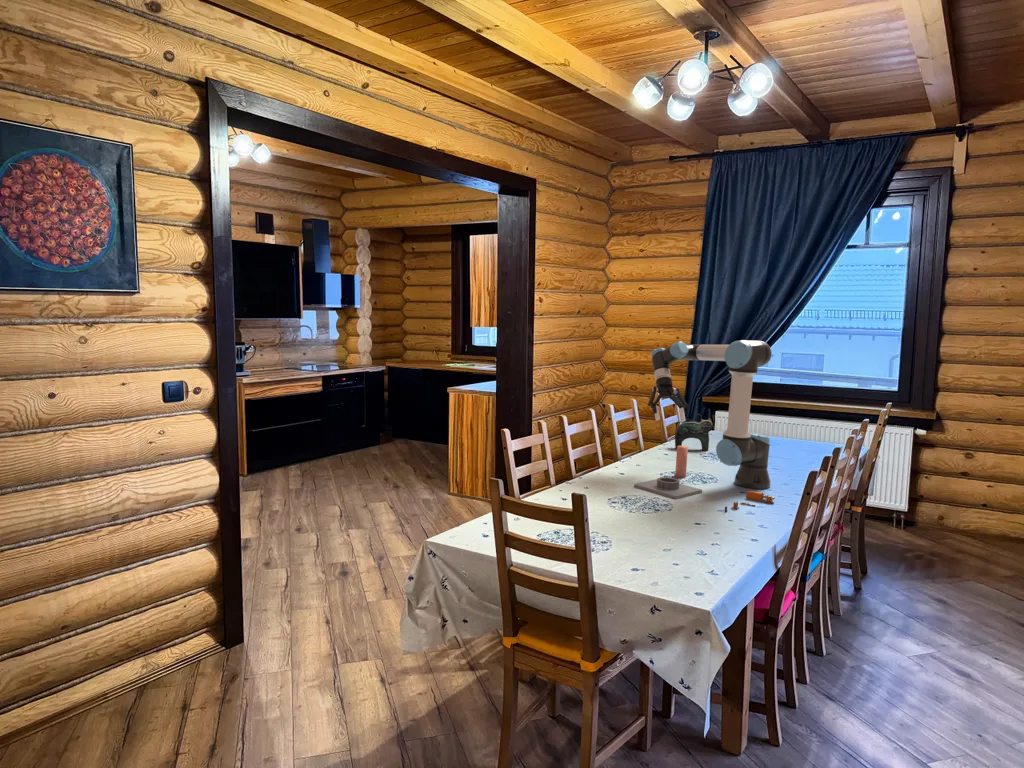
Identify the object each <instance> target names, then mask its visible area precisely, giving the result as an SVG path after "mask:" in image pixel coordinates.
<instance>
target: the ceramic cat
mask: <svg viewBox="0 0 1024 768" xmlns="http://www.w3.org/2000/svg"><path fill="white" fill-rule="evenodd" d="M698 415H699V416H700V417H701V418H700V420H699V421H694V420H692V419H689V418H687V419H686V418H685V420H686V421H684V422H683V423H682V422H681V420H680V421H679V423H678V425H677V427H676V430H675V432H674V447H675V449H676V450H677V446H683V445H682V444H683V442H684V441H686V440H687V439H697V440H699V441H700V444H701V451H703V452H704V451H705V452H709V447H710V445H709V444H710V432H711V431H712V430H713V422H712V419H711V418H710V417H709V418H708V419H703V417H702V415H701V414H700V413H696V414H695V415H694V417H696V416H698Z"/></svg>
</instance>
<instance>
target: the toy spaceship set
mask: <svg viewBox="0 0 1024 768" xmlns="http://www.w3.org/2000/svg"><path fill="white" fill-rule="evenodd" d="M745 498H746V499H747V500H751V501H755V502H759V501H760V503H763V502H764V503H768V504H775V501H774V500H775V497H774V496H772V495H769V494H768V495H766V494H765V493H764V492H758V491H753V490H747V491H746V496H745ZM739 505H741V506H743V507H745V506H750V507H754V508H755V507H756V505H755V504H751V503H748V502H746V501H743V502H740V503H739V502H738V501H735V502H733V505H732V507H730V509H732V510H733V509H734V510H737V511H738V510H739V509H740V507H739ZM724 513H728V506H725V507H724Z"/></svg>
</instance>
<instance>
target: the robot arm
mask: <svg viewBox="0 0 1024 768" xmlns="http://www.w3.org/2000/svg"><path fill="white" fill-rule="evenodd" d="M650 354H651V361H652V362H651V363H652V367H653V373H654V378H655V379H654V380H655V385H656V386H653V387H652V388H651V394H650V396H649V400H648V403H647V406H648V407H650V409H652V413H653V414H654V418H655V421H656V422H658V421H660V420H661V417H660V410H659V406H658V403H659V402H660V400H661V399H662V398H663V399H665V398H666V399H669V400H672V402H673V403H674V404H675V405H676V406H677V407H678V408H679V409H678V413H679V418H680V421H681V422H680V423H681V424H682V423H684V422H687V420H686V416H685V415H686V414H687V413H686V408H688V407H689V405H688V403H687V401H686V400H685V398H684V397H683V395H682V393H681V392H680V389H679V388H676V389H675V388H673V386H674V385H673V380H672V375H671V369H670V365H671V364H673V363H675V362H677V361H713V362H715V361H716V362H717V361H719V362H725V363H726V365H727V366H728V373H730V374H731V382H730V392H729V403H728V405H729V406H728V417H727V424H726V425H727V426H726V430H724V431H723V433H722V439H721V440H720V441H718V442H717V444H716V447H715V453H716V457H717V458H718V459H719V461H720V462H721V463H722V464H723V465H725V466H729V467H731V466H733V467H735V466H736V467H737V466H739V467H738V470H737V472H736V474H735V476H734V484H736V485H737V486H740V487H743V488H748V489H755V490H757V489H758V490H763V489H765V490H766V489H769V488H770V487H771V478H770V475H769V471H768V465H769V457H770V456H769V455H770V453H769V452H770V445H771V444H770V437H769V436H768V435H765V434H759V433H754V432H749V424H750V423H749V422H750V413H751V401H752V391H753V383H754V381H753V380H754V376H756V375H757V374H758V368H760V367H763V366H765V365H767V364H768V363H769V362H770V361H771V358H772V349H771V347H770V345H769V344H768V343H767V342H766V341H764V340H763V341H762V340H753V339H752V340H750V339H748V340H746V339H741V340H735V341H733V342H731V343H730V344H697V343H695V344H694V343H693V344H686V343H685V342H683V341H681V340H680V341H676V342H674V343H672V344H671V345H670V346H668V347H666V348H663V347H658V348H655V349H653V350H652V351H651V352H650ZM657 393H658V395H657V397H656V394H657Z"/></svg>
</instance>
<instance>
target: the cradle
mask: <svg viewBox="0 0 1024 768" xmlns="http://www.w3.org/2000/svg"><path fill="white" fill-rule="evenodd" d="M633 487H634V488H637V489H640V490H644V491H647V492H651V493H654V494H657V495H661V496H664V497H667V498H669V499H674V500H679V499H681V498H683V499H684V498H686V497H689V496H694V495H697V494H701V493H703V489H701V488H697V487H694V486H690V485H687V484H682V483H681V482H680V479H677V478H676V477H675V478H674V477H666V476H664V477H663V476H662V477H657V478H655V479H652V480H651V479H650V480H647V481H643V482H637V483H634V485H633Z"/></svg>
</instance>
